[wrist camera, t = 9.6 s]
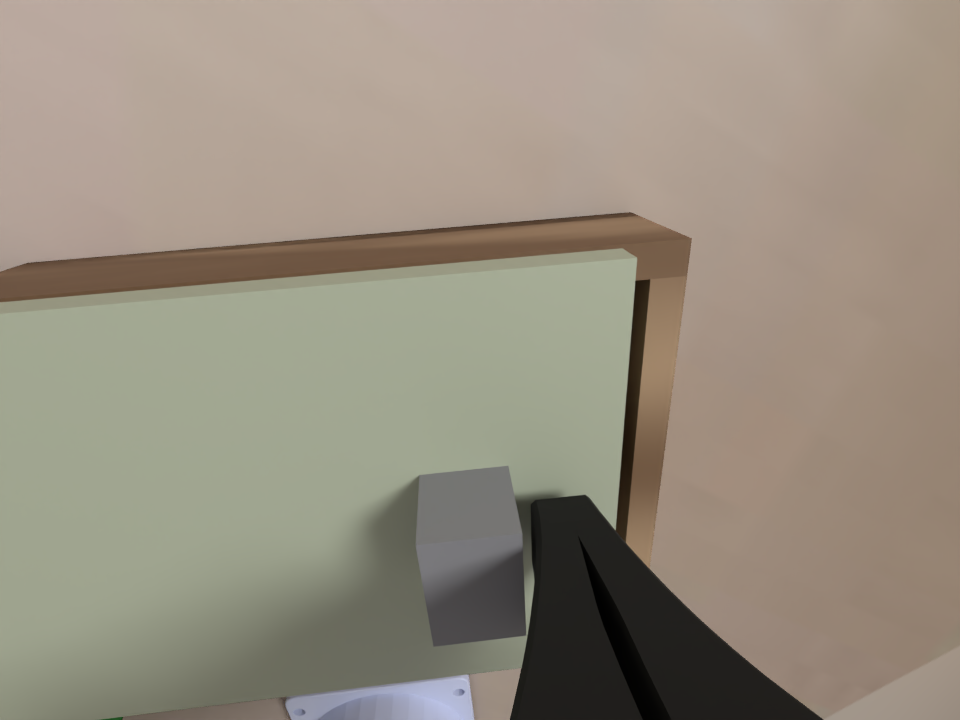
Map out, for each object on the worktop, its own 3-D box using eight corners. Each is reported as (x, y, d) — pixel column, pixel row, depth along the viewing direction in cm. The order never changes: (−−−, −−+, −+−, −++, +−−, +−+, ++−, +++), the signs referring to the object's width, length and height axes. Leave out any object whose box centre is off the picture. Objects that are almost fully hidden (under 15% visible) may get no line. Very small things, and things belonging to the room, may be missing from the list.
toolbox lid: (572, 554, 17) (630, 734, 12) (71, 611, 17) (-95, 828, 12) (581, 222, 12) (688, 290, 7) (-151, 284, 11) (-642, 411, 6)
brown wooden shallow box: (607, 533, 18) (643, 617, 15) (184, 580, 18) (129, 678, 14) (630, 212, 13) (691, 238, 10) (27, 262, 12) (-113, 308, 9)
